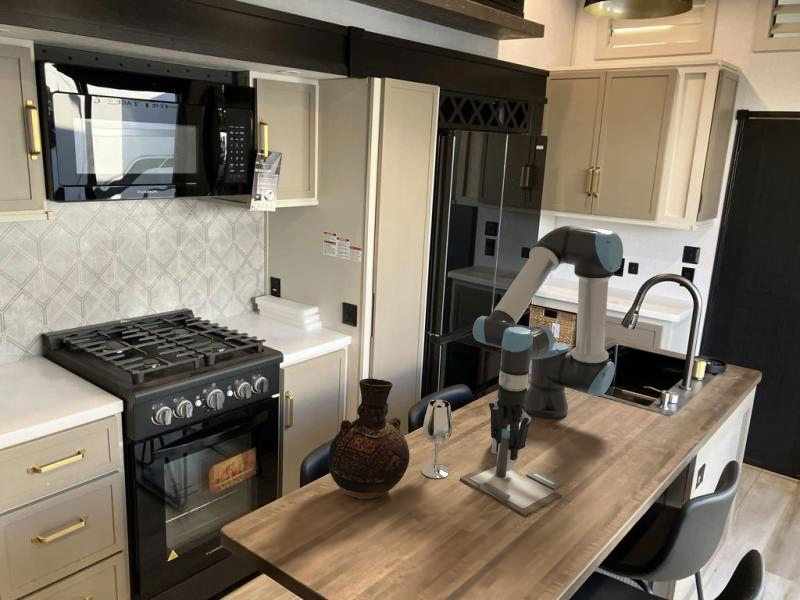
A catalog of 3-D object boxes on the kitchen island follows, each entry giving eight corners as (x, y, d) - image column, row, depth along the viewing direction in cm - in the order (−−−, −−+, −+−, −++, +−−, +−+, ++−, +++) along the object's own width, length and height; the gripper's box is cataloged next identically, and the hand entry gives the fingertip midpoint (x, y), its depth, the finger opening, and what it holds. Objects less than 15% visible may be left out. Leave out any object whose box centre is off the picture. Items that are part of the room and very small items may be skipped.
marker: (499, 471, 176) (506, 426, 174) (508, 475, 175) (515, 430, 172) (493, 474, 174) (500, 428, 172) (502, 478, 172) (509, 432, 170)
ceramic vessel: (336, 517, 153) (339, 399, 146) (319, 480, 169) (321, 372, 162) (418, 503, 161) (425, 391, 153) (395, 469, 176) (400, 366, 169)
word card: (534, 471, 179) (534, 470, 179) (561, 485, 172) (561, 483, 172) (526, 475, 176) (526, 474, 176) (553, 489, 170) (553, 488, 170)
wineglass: (434, 461, 182) (438, 395, 177) (455, 472, 176) (460, 404, 171) (414, 470, 176) (418, 402, 171) (435, 482, 171) (440, 412, 166)
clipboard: (496, 463, 182) (497, 458, 182) (561, 497, 167) (562, 491, 166) (459, 479, 173) (460, 474, 172) (525, 517, 157) (526, 511, 156)
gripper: (481, 380, 172) (474, 459, 178) (527, 398, 161) (518, 483, 167) (499, 374, 177) (492, 452, 183) (545, 392, 166) (536, 474, 172)
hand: (505, 467), depth 175 cm, fingers closed on marker, 2 cm apart
